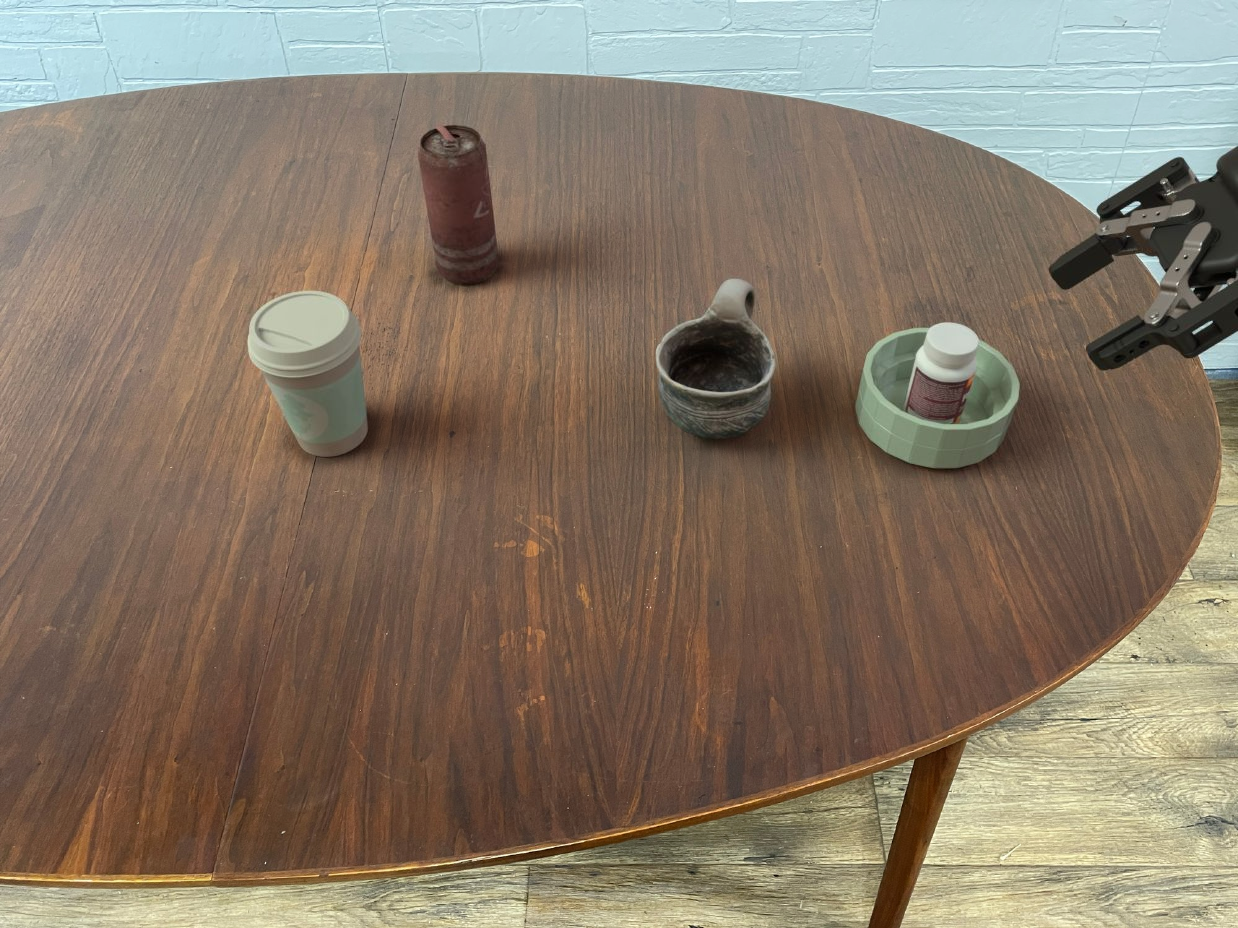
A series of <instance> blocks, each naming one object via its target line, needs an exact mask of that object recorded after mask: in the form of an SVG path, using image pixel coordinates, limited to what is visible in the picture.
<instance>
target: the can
mask: <svg viewBox="0 0 1238 928" xmlns="http://www.w3.org/2000/svg"><path fill="white" fill-rule="evenodd" d="M417 158H418V165H419V170H420V171H419V172H420V176H421V182H422V183H421V184H422V188H423V195H424V200H425V207H426V212H427V219H428V224H429V230H430V236H431V241H432V248H433V253H434V260H435V265H436V269H437V271H438V273H439V275H440V276H442V278H444V279H445V280H447V282H450V283H452V284H455V285H461V286H462V285H463V286H468V285H477V284H481V283H483V282H485V281H486V280H488V279H490V278H491V277H492V276H493V275H494V274H495V272H496V271H497V269H498V267H499V265H500V258H499V249H498V241H497V231H496V224H495V215H494V214H495V213H494V206H493V197H492V187H491V179H490V178H491V177H490V170H489V161H488V154H487V144H486V143H485V142H484V139H483V138H482V136H481V134H480V132H479V131H477V130H476V129H474V128H473V127H470V126H468V125H467V126H466V125H460V124H451V125H450V124H446V125H442V124H440V125H437V126H435V127H434V128H433V129H430V130H428V131H427V132H425V133H424V134H423V135H422V137H420V140H419V145H418V147H417Z"/></svg>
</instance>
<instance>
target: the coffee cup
mask: <svg viewBox="0 0 1238 928" xmlns="http://www.w3.org/2000/svg"><path fill="white" fill-rule="evenodd" d="M248 329H249V331H248V332H249V333H248V336H247V351H248V356H249V359H250V360H251V363H253V364H254V365H255V367H257V368H258V369H260V371H261V373H262V375H263V378H264V379H265V381H266V383H267V385H268V387H269V389H270V391H271V393H272V395H273V397H274V399H275V400H276V402H277V404H278V406H279V408H280V411H281V412H282V414H283V417H284V418H285V420H286V422H287V424H288V426H289V427H290V430H291V432H292V434H293V435H294V437H295V439H296V440H297V443H298V445H299V446H300V448H301V449H302V451H305V452H306V453H307V454H310V455H312V456H315V457H322V458H331V457H337V456H342V455H343V454H346V453H348V452H350V451H352V450H354V449H356V448H357V447H358V446H359V445H360V444H361V443H363V441H364V439H365V438H366V437H367V434H368V430H369V425H368V417H367V415H368V414H367V404H366V396H365V386H364V385H365V384H364V377H363V375H364V374H363V367H362V357H361V348H360V343H361V341H362V336H363V335H362V327H361V324H360V323H359V321H358V319H357V316H356V314H355V313H353V311H352V310H351V309H350V308H349V307H348V305H347V304H346V303H345V301H344V300H342V298H340V297H339V296H337V295H335V294H332V293H329V292H326V291H320V290H299V291H294V292H289V293H286V294H282V295H280V296H278V297H275V298H273V299H272V300H269V301H268V302H266V303H265V304H264V305H262V306H261V307H260V308H259V309H258V310H257V311H256V312H255V313H254V314H253V316H252V317H251V319H250V322H249V327H248Z"/></svg>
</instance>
